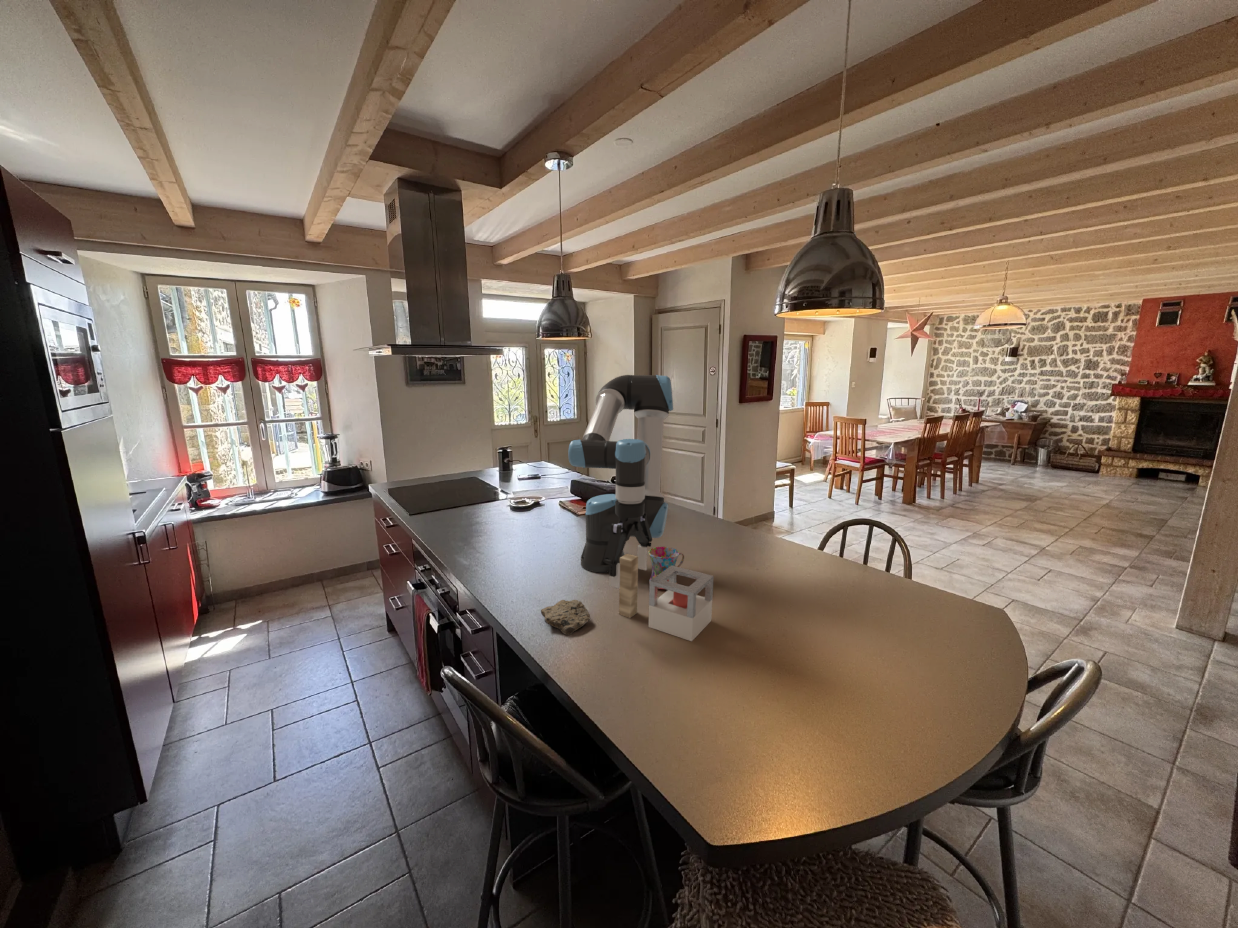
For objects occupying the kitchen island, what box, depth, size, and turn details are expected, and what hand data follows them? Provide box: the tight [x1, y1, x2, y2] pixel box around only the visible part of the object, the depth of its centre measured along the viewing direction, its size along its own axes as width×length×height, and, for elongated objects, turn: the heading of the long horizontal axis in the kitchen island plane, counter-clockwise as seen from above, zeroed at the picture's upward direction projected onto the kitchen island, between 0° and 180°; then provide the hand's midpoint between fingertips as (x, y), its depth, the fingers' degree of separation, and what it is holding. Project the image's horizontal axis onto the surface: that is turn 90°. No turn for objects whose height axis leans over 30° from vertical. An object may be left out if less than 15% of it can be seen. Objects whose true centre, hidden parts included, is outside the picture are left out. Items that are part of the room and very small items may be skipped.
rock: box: [540, 599, 591, 636], centre depth 126 cm, size 11×12×4 cm
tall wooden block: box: [618, 553, 639, 619], centre depth 130 cm, size 4×4×16 cm
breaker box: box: [648, 590, 713, 642], centre depth 126 cm, size 12×12×6 cm
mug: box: [647, 546, 685, 590], centre depth 149 cm, size 12×9×11 cm
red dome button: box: [673, 592, 688, 609], centre depth 126 cm, size 4×4×8 cm
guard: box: [648, 565, 714, 618], centre depth 125 cm, size 12×12×6 cm
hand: (628, 577), depth 130 cm, fingers open, 13 cm apart
